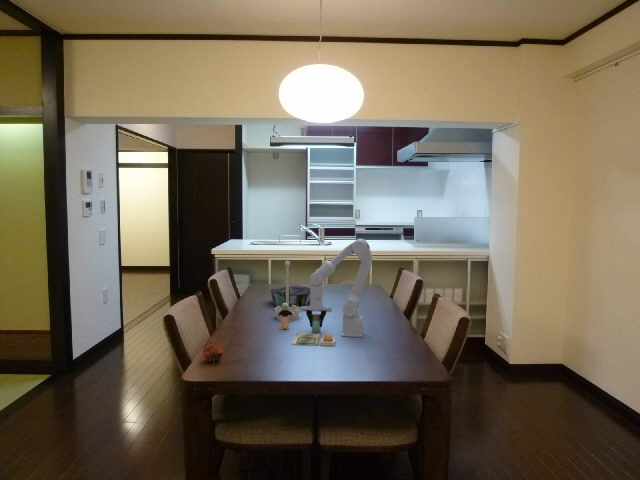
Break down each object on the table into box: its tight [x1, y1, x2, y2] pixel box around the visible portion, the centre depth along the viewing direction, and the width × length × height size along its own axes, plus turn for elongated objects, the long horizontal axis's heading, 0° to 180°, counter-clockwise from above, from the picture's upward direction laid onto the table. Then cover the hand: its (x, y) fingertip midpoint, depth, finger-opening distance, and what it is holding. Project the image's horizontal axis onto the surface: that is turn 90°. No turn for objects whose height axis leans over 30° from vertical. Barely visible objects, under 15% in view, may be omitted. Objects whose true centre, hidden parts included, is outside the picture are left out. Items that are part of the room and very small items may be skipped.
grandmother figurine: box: [276, 303, 294, 331], centre depth 205 cm, size 8×4×13 cm, turn 105°
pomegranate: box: [202, 341, 224, 366], centre depth 163 cm, size 7×7×10 cm
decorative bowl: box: [269, 285, 311, 308], centre depth 255 cm, size 26×28×10 cm
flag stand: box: [274, 260, 301, 322], centre depth 223 cm, size 13×13×30 cm
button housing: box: [319, 336, 336, 347], centre depth 185 cm, size 6×6×2 cm
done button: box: [323, 333, 333, 342], centre depth 185 cm, size 3×3×2 cm
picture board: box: [291, 332, 322, 347], centre depth 189 cm, size 11×14×1 cm
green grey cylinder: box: [311, 313, 322, 334], centre depth 201 cm, size 4×4×8 cm
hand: (316, 326), depth 201 cm, fingers closed on green grey cylinder, 4 cm apart
